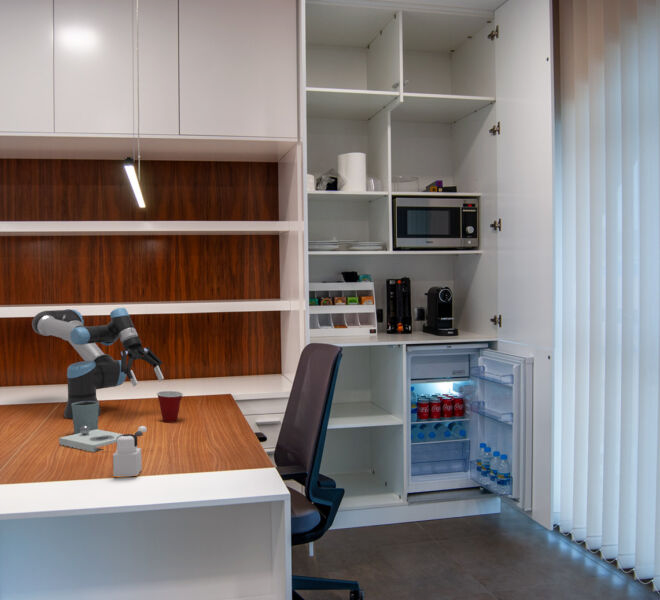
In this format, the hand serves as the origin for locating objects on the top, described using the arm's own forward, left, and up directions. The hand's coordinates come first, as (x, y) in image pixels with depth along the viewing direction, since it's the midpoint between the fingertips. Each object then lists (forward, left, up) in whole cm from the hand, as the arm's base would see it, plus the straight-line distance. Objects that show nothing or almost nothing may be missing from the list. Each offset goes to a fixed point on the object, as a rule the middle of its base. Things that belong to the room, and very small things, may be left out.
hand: (148, 382), depth 284 cm
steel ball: (+13, -41, -11) cm, 44 cm away
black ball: (+27, -28, -14) cm, 41 cm away
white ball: (+23, -23, -13) cm, 35 cm away
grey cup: (+2, -33, -15) cm, 36 cm away
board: (+19, -41, -15) cm, 47 cm away
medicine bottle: (+60, -59, -15) cm, 85 cm away
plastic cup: (+13, 0, -15) cm, 20 cm away
